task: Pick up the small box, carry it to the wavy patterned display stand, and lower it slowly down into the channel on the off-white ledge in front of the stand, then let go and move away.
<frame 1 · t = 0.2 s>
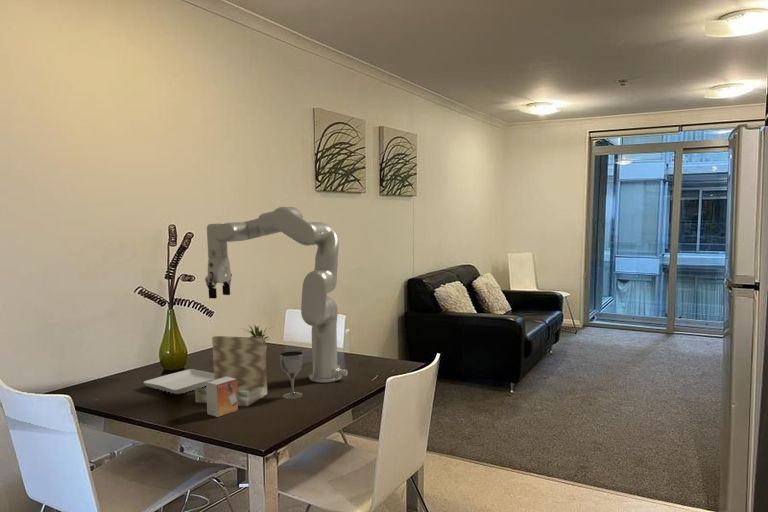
hand: (219, 296, 222), 31 cm above the table, tool pointing down, fingers open, 9 cm apart
wavy patterned display stand: (231, 398, 191), on the table
wine glass: (293, 396, 192), on the table
small box: (222, 413, 177), on the table
salad plate: (184, 387, 207), on the table
house plant: (256, 359, 244), on the table
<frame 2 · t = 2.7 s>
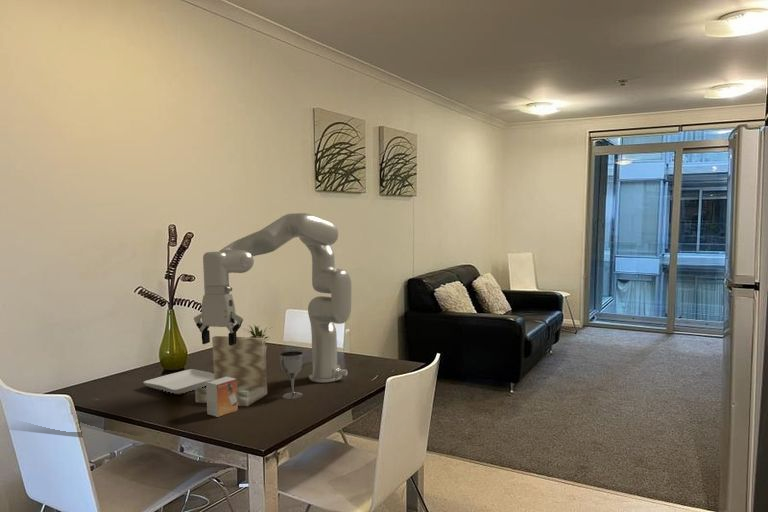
hand: (219, 344, 175), 22 cm above the table, tool pointing down, fingers open, 9 cm apart
nothing on the table moved.
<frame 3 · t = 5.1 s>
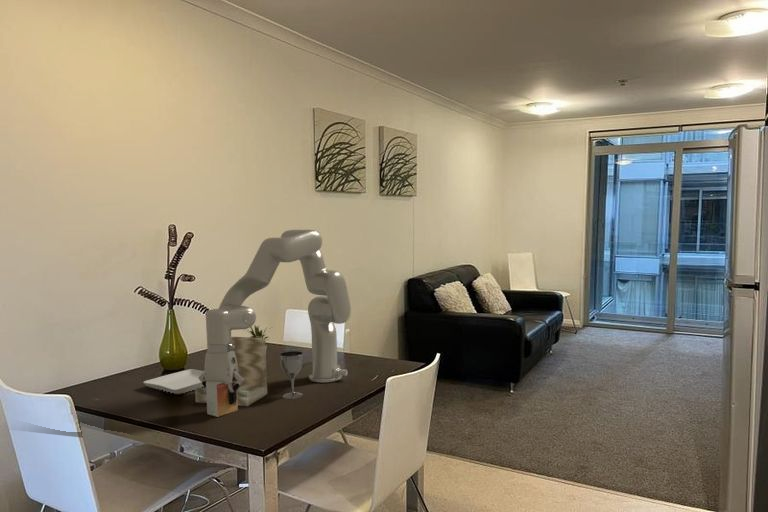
hand: (222, 402, 177), 3 cm above the table, tool pointing down, fingers closed on small box, 7 cm apart
small box: (222, 412, 177), on the table, touching gripper
everything else where it was.
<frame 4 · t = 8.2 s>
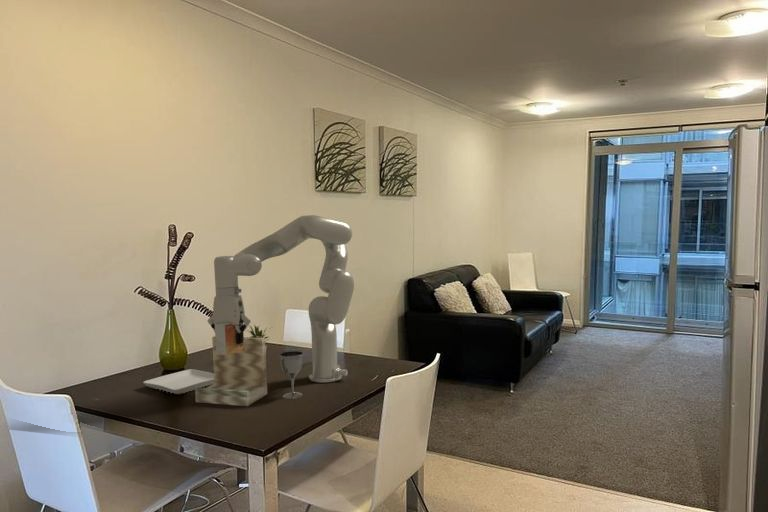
hand: (230, 342, 190), 19 cm above the table, tool pointing down, fingers closed on small box, 7 cm apart
small box: (230, 352, 190), point 16 cm above the table, touching gripper
everything else where it was.
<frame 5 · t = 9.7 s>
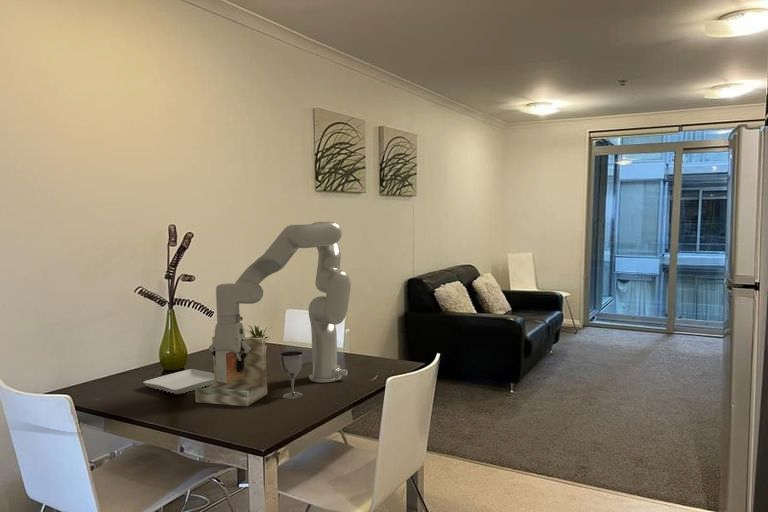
hand: (230, 370, 190), 10 cm above the table, tool pointing down, fingers closed on small box, 7 cm apart
small box: (230, 380, 191), point 6 cm above the table, touching gripper
everything else where it was.
when the fingers open (7 cm above the table, at t = 11.0 s): small box drops 1 cm, resting on wavy patterned display stand.
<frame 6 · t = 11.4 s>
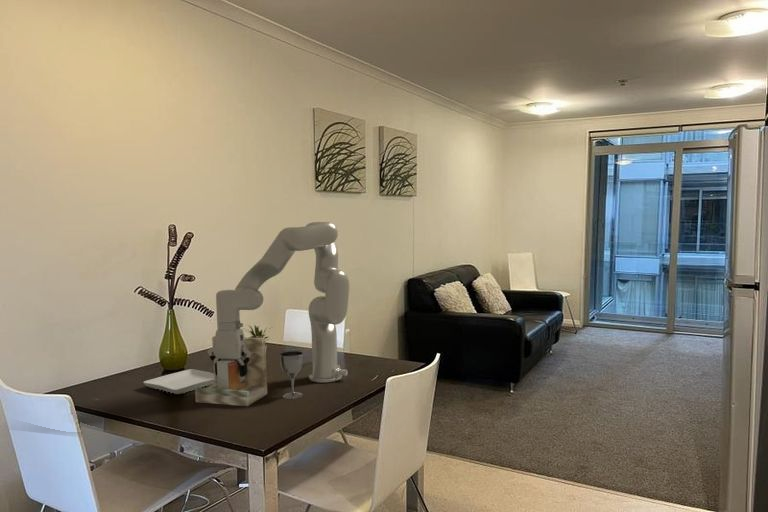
hand: (231, 374, 190), 8 cm above the table, tool pointing down, fingers open, 9 cm apart
small box: (232, 389, 191), point 3 cm above the table, touching wavy patterned display stand
everything else where it was.
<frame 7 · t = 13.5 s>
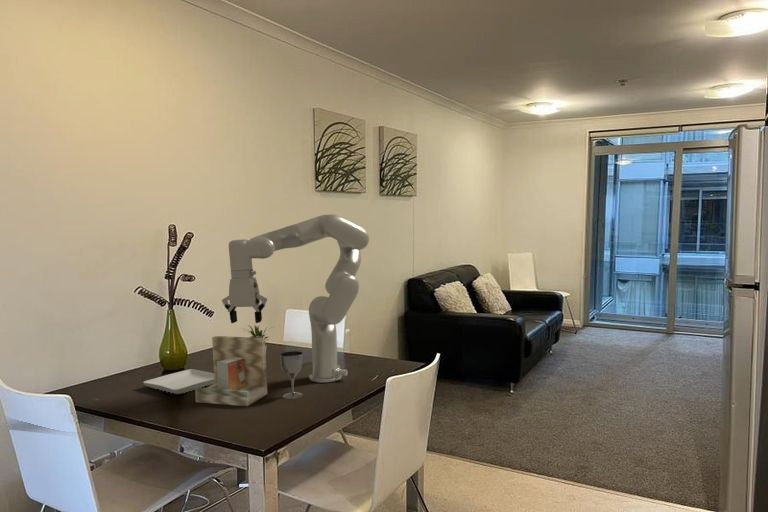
hand: (246, 322, 195), 25 cm above the table, tool pointing down, fingers open, 9 cm apart
nothing on the table moved.
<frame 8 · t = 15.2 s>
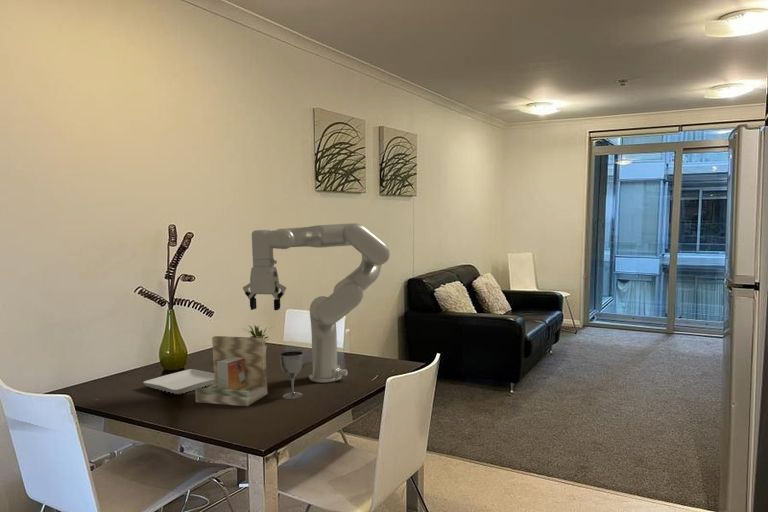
hand: (265, 309, 203), 28 cm above the table, tool pointing down, fingers open, 9 cm apart
nothing on the table moved.
at the end: small box 0.4 cm off-centre on the wavy patterned display stand, point 2.8 cm above the wavy patterned display stand's base; small box tilted 0°; the gripper is holding nothing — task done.
